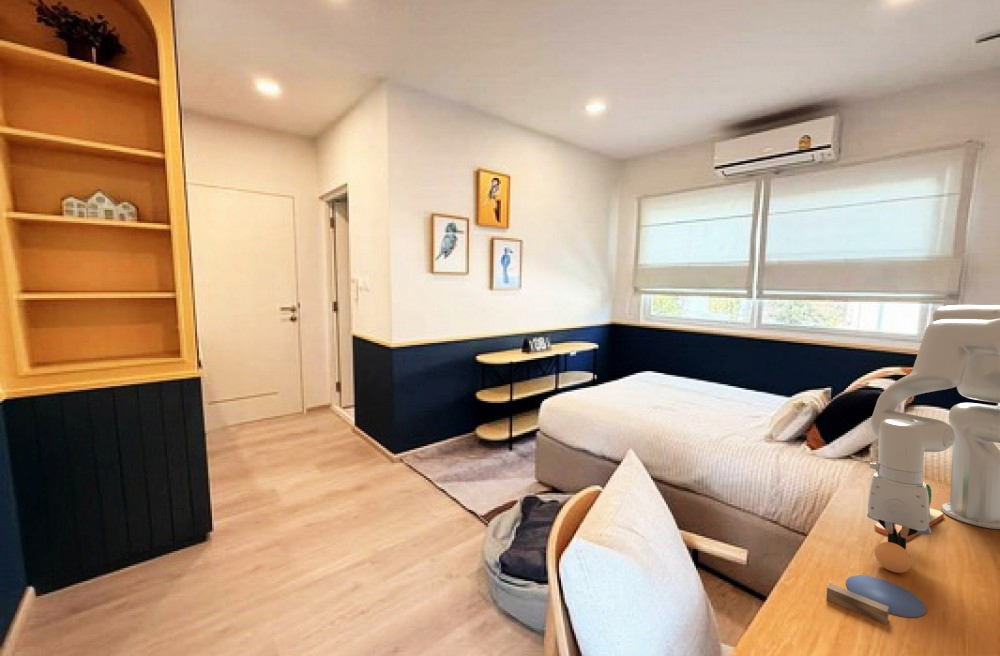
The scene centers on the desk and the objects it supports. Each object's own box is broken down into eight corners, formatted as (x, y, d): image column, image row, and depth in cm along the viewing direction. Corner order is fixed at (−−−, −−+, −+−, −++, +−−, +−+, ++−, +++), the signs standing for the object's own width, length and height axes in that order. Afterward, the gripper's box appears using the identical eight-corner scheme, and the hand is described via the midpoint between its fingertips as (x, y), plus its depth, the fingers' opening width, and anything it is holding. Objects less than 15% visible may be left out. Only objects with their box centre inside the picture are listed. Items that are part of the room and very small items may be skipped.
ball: (899, 563, 95) (900, 538, 95) (918, 580, 89) (919, 554, 89) (868, 560, 97) (869, 535, 96) (884, 576, 91) (885, 550, 91)
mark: (900, 581, 89) (900, 580, 89) (942, 622, 78) (942, 621, 78) (834, 572, 93) (834, 571, 93) (865, 611, 81) (865, 610, 81)
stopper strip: (888, 619, 79) (888, 606, 79) (886, 624, 78) (887, 612, 77) (829, 594, 86) (829, 583, 86) (826, 599, 84) (826, 587, 84)
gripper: (854, 468, 100) (851, 542, 101) (945, 489, 88) (941, 572, 89) (860, 460, 105) (858, 531, 106) (948, 479, 93) (944, 558, 94)
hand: (896, 549), depth 98 cm, fingers closed
